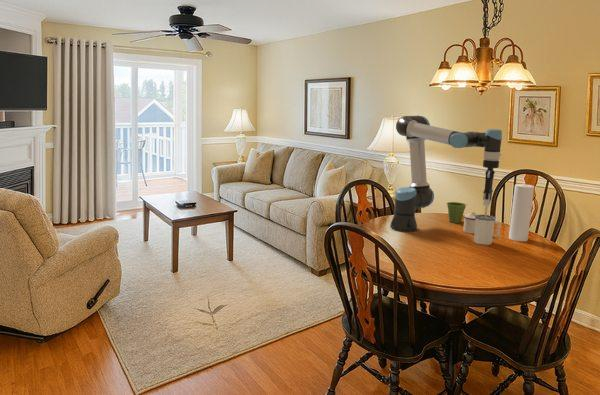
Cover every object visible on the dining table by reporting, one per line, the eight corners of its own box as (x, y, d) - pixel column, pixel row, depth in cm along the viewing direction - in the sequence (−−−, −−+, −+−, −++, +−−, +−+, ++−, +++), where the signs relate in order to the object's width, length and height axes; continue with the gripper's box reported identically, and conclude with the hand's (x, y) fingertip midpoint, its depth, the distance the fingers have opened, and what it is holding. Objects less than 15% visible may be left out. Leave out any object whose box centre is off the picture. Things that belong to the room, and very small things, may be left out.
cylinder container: (528, 238, 255) (535, 184, 249) (526, 242, 247) (533, 187, 241) (509, 235, 260) (516, 182, 254) (507, 239, 252) (513, 185, 246)
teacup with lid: (481, 234, 260) (483, 214, 258) (464, 233, 262) (466, 213, 260) (476, 229, 272) (478, 209, 270) (460, 228, 274) (462, 208, 271)
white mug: (472, 242, 245) (474, 217, 242) (474, 238, 253) (477, 213, 250) (497, 246, 239) (499, 220, 236) (499, 242, 247) (501, 216, 244)
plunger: (477, 228, 244) (481, 190, 240) (479, 225, 249) (482, 188, 245) (489, 229, 241) (493, 192, 237) (491, 227, 246) (495, 190, 242)
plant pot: (468, 222, 288) (470, 204, 286) (459, 225, 280) (460, 206, 278) (451, 218, 296) (452, 201, 294) (441, 221, 288) (442, 203, 286)
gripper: (497, 162, 228) (492, 208, 233) (500, 158, 243) (496, 202, 248) (481, 160, 232) (476, 206, 237) (485, 157, 247) (481, 200, 251)
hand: (486, 204), depth 242 cm, fingers closed on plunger, 4 cm apart
